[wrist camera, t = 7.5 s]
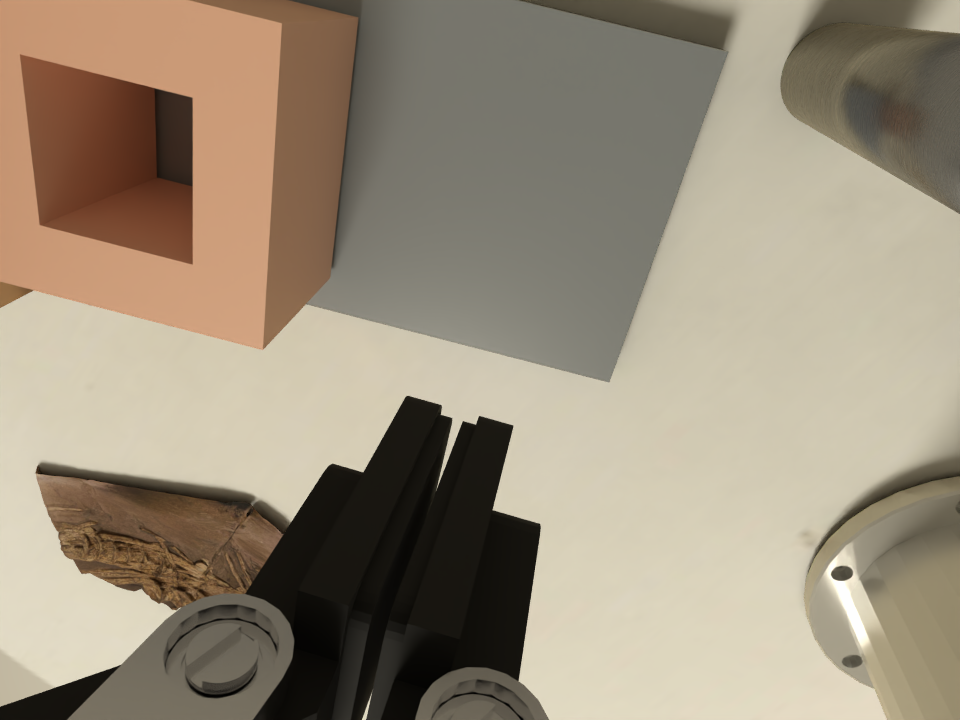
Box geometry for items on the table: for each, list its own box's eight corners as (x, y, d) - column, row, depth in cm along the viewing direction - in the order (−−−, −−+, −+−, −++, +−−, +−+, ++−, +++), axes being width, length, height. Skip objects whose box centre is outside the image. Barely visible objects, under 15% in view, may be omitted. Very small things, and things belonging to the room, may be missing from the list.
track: (722, 49, 21) (728, 51, 20) (608, 369, 27) (609, 382, 26) (-30, -134, 22) (-56, -140, 21) (16, 217, 28) (-2, 224, 27)
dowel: (902, 35, 20) (1230, 74, 10) (855, 135, 22) (1097, 261, 11) (805, 12, 21) (1028, 26, 10) (764, 113, 22) (923, 217, 12)
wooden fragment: (22, 534, 38) (7, 547, 37) (62, 394, 32) (46, 406, 31) (425, 732, 41) (421, 749, 40) (520, 634, 36) (518, 651, 35)
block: (358, 17, 21) (281, 23, 16) (330, 278, 26) (262, 350, 20) (85, -50, 21) (-80, -67, 16) (103, 219, 26) (-22, 276, 21)
